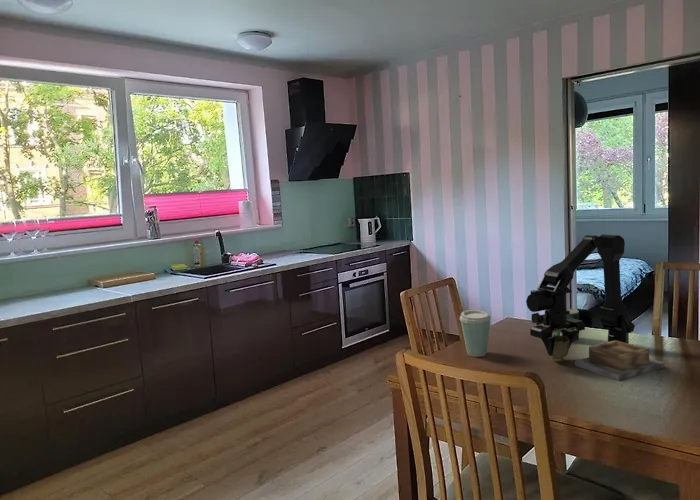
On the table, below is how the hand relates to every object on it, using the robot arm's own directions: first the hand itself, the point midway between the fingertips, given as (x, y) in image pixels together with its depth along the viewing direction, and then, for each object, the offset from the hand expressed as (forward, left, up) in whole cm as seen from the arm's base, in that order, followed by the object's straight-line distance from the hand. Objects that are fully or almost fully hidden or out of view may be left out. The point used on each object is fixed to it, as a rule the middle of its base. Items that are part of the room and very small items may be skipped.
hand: (558, 353), depth 176 cm
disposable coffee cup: (+17, -21, -3) cm, 27 cm away
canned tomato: (-20, -15, -3) cm, 25 cm away
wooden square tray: (-11, +14, -2) cm, 18 cm away
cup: (0, 0, -3) cm, 3 cm away
